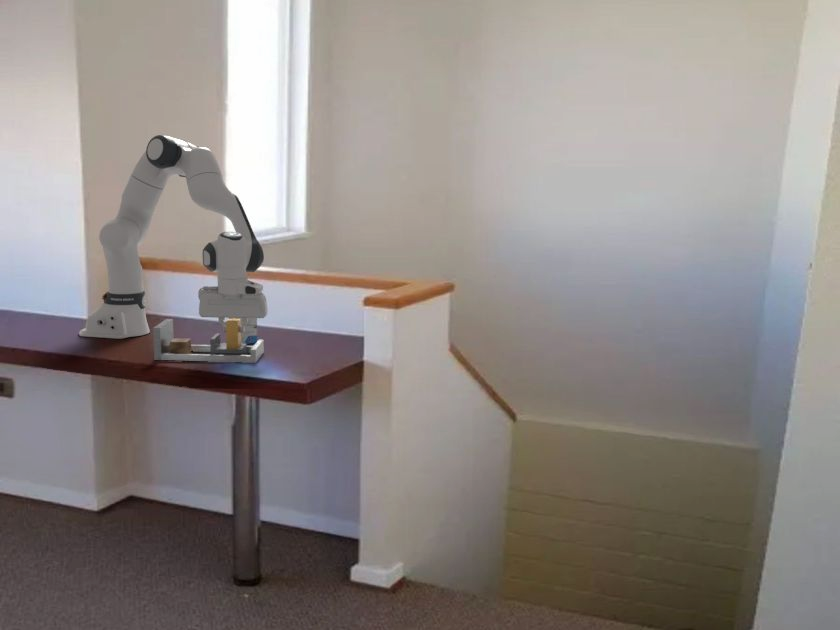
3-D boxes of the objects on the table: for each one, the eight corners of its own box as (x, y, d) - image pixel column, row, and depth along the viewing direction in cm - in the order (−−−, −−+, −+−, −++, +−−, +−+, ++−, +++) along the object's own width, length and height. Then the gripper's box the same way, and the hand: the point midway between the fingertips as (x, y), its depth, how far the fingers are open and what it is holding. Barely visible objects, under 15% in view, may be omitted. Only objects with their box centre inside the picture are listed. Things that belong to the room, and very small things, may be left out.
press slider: (210, 359, 267) (209, 322, 265) (217, 352, 276) (216, 317, 274) (241, 359, 267) (240, 323, 265) (246, 352, 276) (246, 317, 274)
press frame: (154, 360, 264) (153, 327, 262) (167, 350, 278) (166, 318, 276) (255, 362, 264) (255, 329, 263) (263, 352, 278) (263, 320, 276)
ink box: (254, 340, 295) (254, 305, 293) (257, 343, 290) (257, 308, 288) (228, 341, 292) (227, 306, 289) (231, 345, 287) (230, 309, 285)
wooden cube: (170, 358, 269) (169, 341, 268) (175, 354, 274) (174, 338, 273) (186, 358, 269) (186, 342, 268) (191, 354, 274) (190, 338, 273)
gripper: (195, 287, 264) (196, 333, 267) (264, 289, 264) (265, 334, 267) (200, 284, 270) (201, 329, 273) (268, 285, 270) (268, 330, 273)
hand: (233, 331), depth 270 cm, fingers closed on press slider, 3 cm apart
